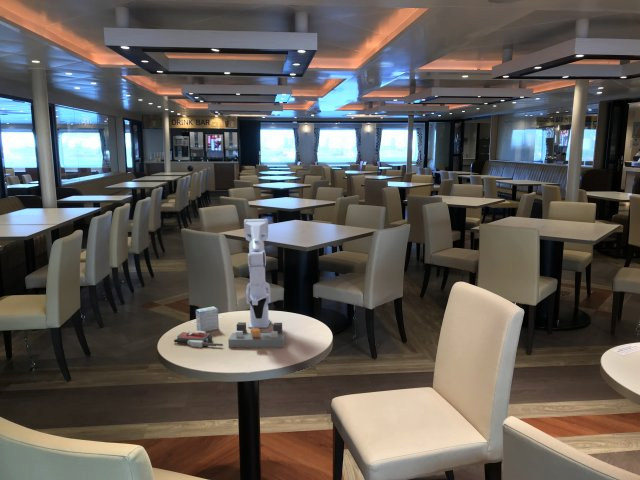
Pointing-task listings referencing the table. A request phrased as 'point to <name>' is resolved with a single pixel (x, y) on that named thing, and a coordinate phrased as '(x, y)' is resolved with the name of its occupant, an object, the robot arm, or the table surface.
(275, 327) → the plug
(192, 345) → the walkie-talkie
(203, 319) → the medicine box
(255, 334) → the orange rectangular block
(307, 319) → the table surface
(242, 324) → the plug
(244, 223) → the robot arm
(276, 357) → the table surface
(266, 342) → the power strip
